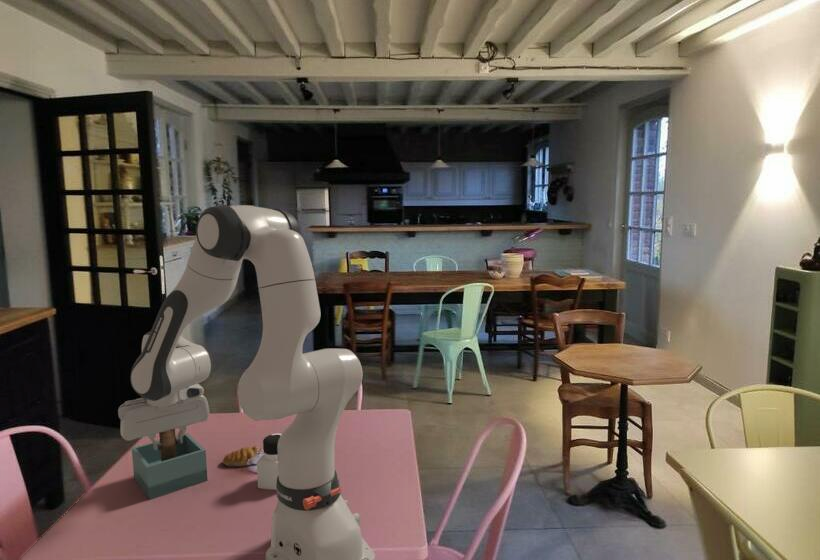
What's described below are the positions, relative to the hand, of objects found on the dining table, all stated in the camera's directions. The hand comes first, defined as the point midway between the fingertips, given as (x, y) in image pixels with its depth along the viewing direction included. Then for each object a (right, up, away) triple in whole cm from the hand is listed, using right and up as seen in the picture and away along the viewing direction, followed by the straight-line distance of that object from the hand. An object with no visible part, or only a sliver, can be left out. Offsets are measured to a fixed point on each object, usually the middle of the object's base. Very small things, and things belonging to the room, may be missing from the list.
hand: (168, 446), depth 134 cm
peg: (0, -5, +1) cm, 5 cm away
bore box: (0, -9, +1) cm, 9 cm away
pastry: (+16, -8, +10) cm, 20 cm away
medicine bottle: (+28, -9, -1) cm, 29 cm away
